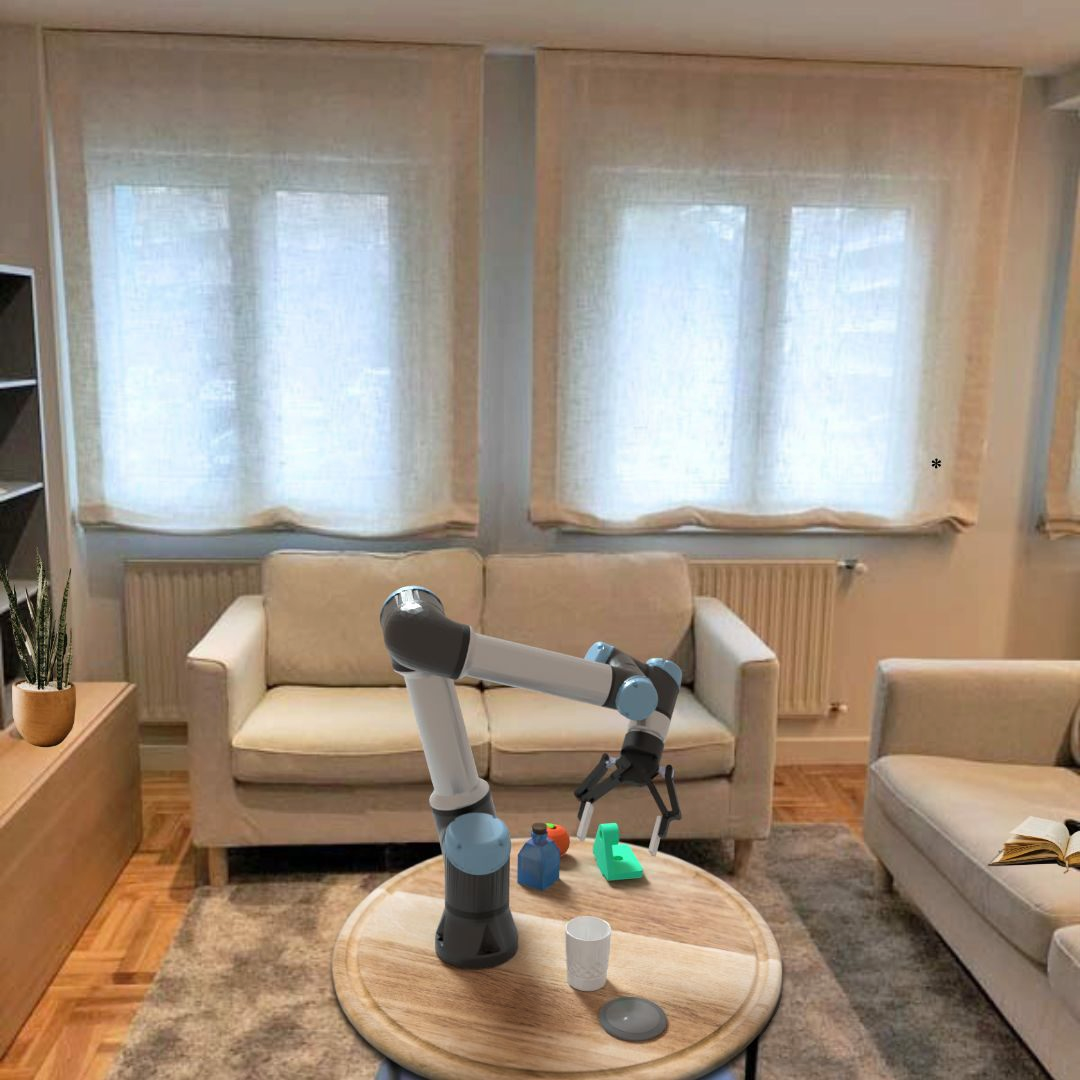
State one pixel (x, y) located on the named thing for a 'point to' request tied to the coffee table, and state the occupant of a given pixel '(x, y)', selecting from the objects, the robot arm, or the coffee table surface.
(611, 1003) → the coaster
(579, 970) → the white cup
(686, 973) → the coffee table surface
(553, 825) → the clementine
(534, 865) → the perfume bottle
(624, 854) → the camera mount
